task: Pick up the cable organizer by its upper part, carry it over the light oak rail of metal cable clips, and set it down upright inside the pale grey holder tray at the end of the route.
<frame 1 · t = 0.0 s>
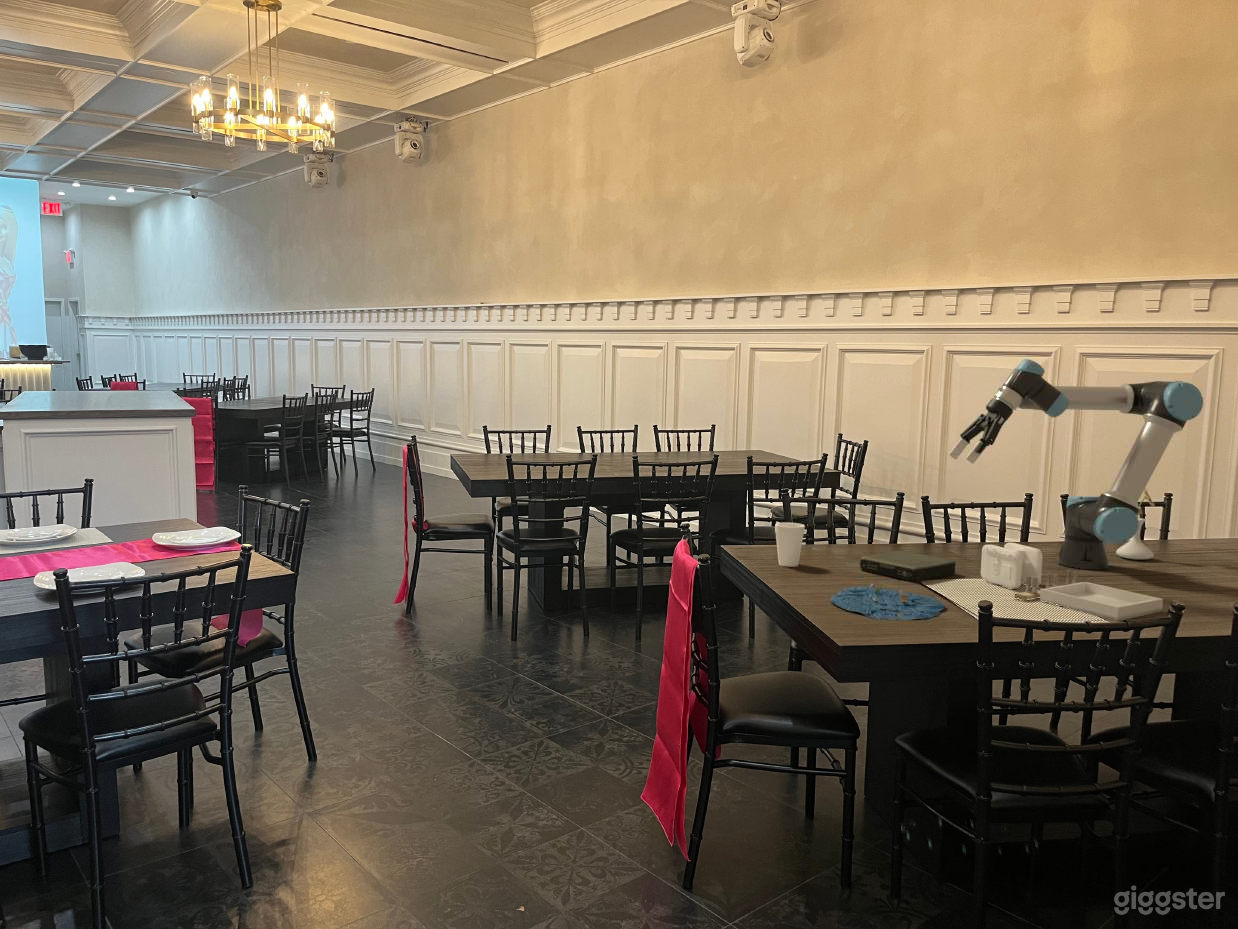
hand: (960, 459, 283), 36 cm above the table, tool tilted 35°, fingers open, 13 cm apart
cable clip rail: (1051, 594, 259), on the table
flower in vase: (1135, 558, 313), on the table
cable organizer: (1010, 585, 270), on the table
foam cup: (788, 565, 295), on the table
blue wave plaque: (888, 607, 244), on the table
holder tray: (1099, 606, 246), on the table
network switch: (907, 574, 285), on the table
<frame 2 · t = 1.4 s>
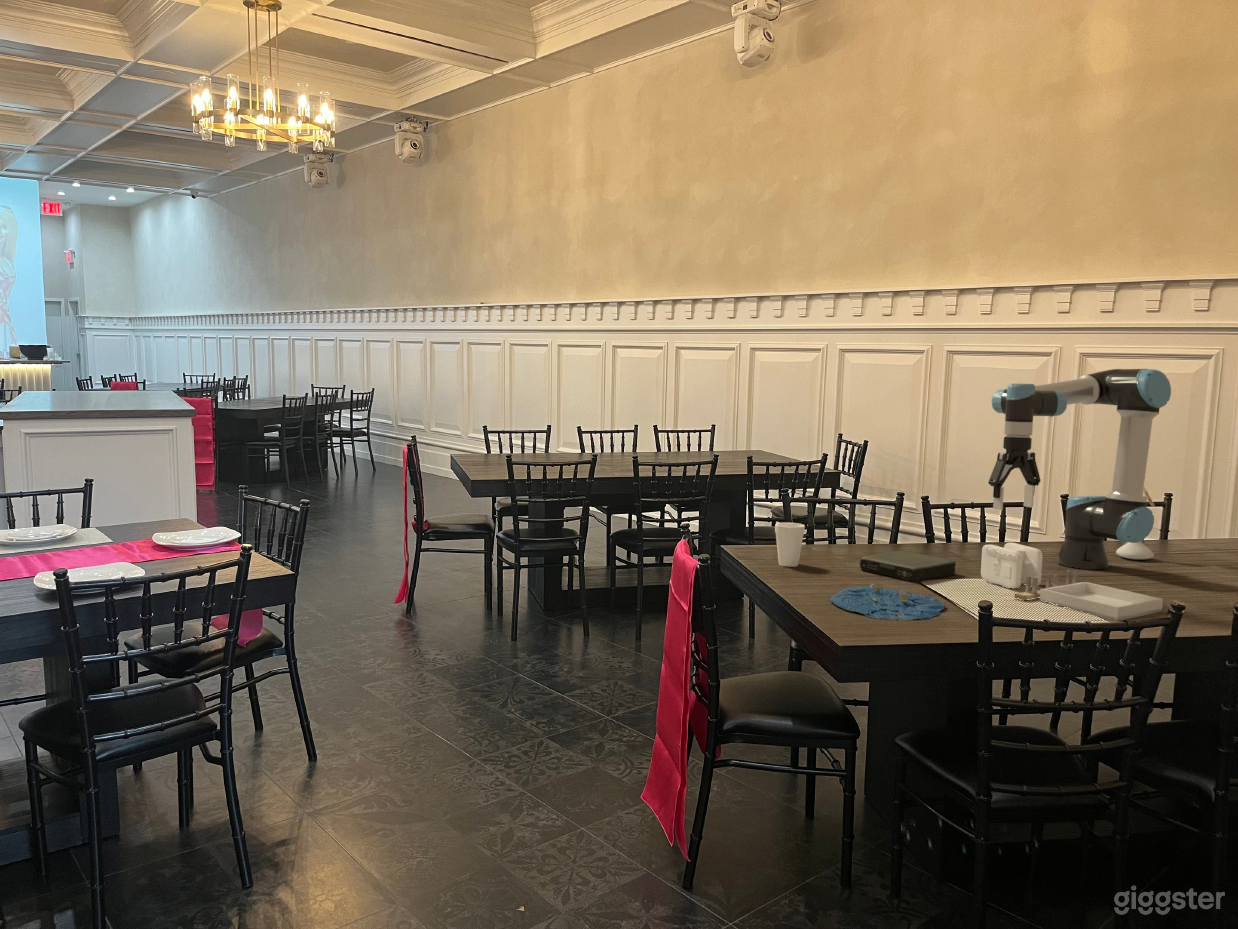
hand: (1013, 508, 268), 23 cm above the table, tool pointing down, fingers open, 13 cm apart
nothing on the table moved.
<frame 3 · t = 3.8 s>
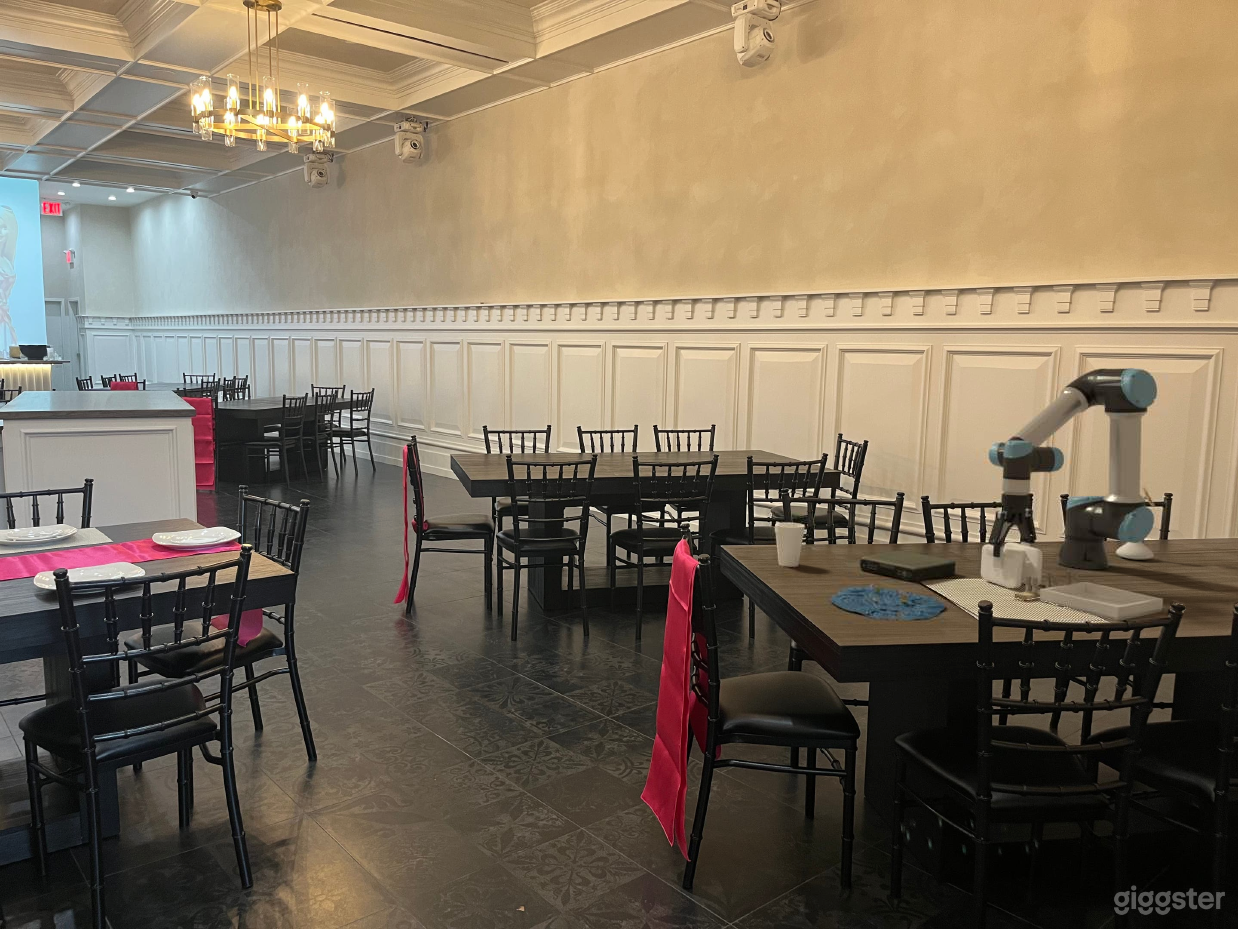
hand: (1011, 566, 270), 6 cm above the table, tool pointing down, fingers closed on cable organizer, 11 cm apart
cable organizer: (1010, 585, 270), on the table, touching gripper
everything else where it was.
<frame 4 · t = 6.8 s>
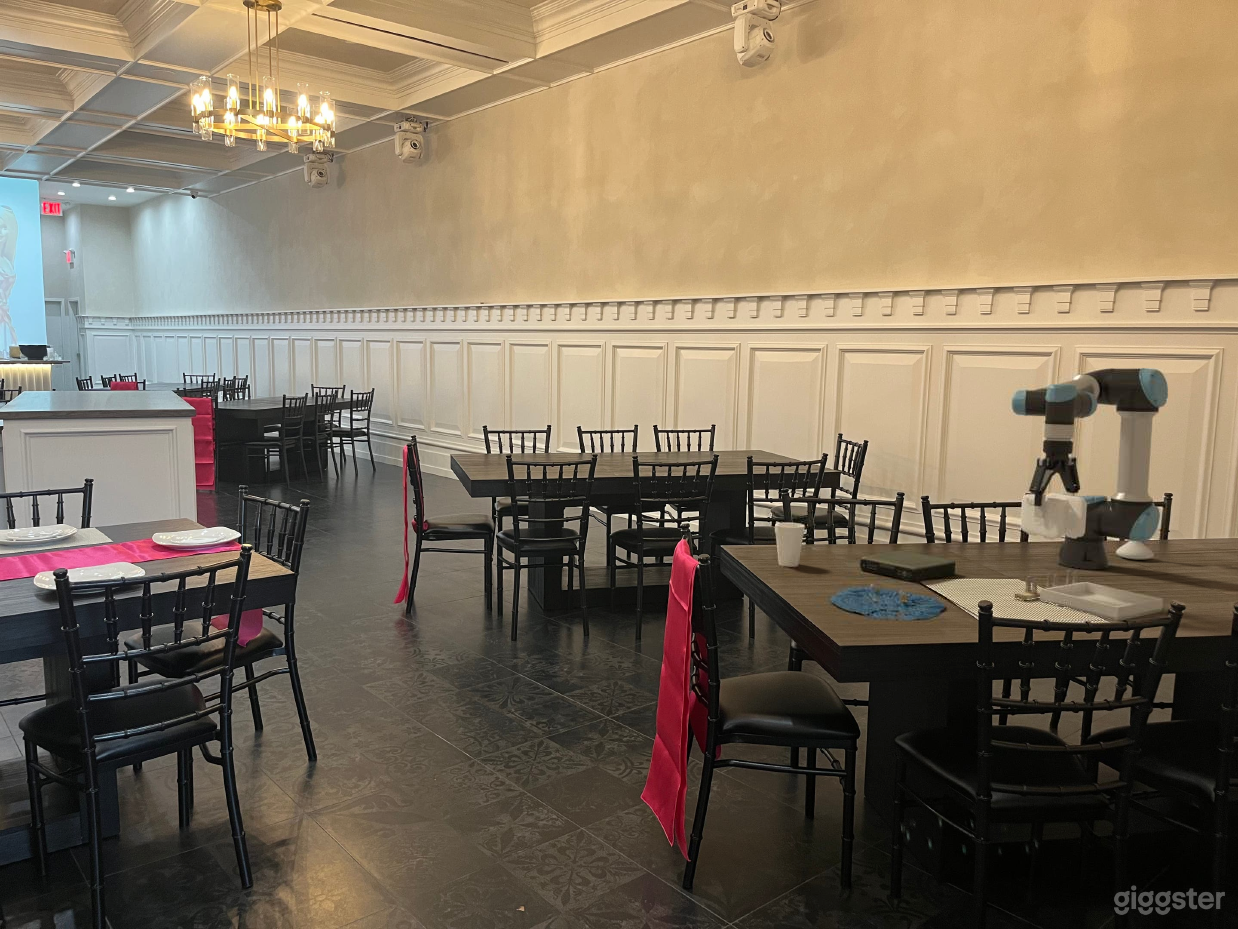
hand: (1053, 516, 257), 22 cm above the table, tool pointing down, fingers closed on cable organizer, 11 cm apart
cable organizer: (1051, 537, 257), point 17 cm above the table, touching gripper
everything else where it was.
when the fingers open (8 cm above the table, at t = 11.5 s): cable organizer drops 1 cm, resting on holder tray.
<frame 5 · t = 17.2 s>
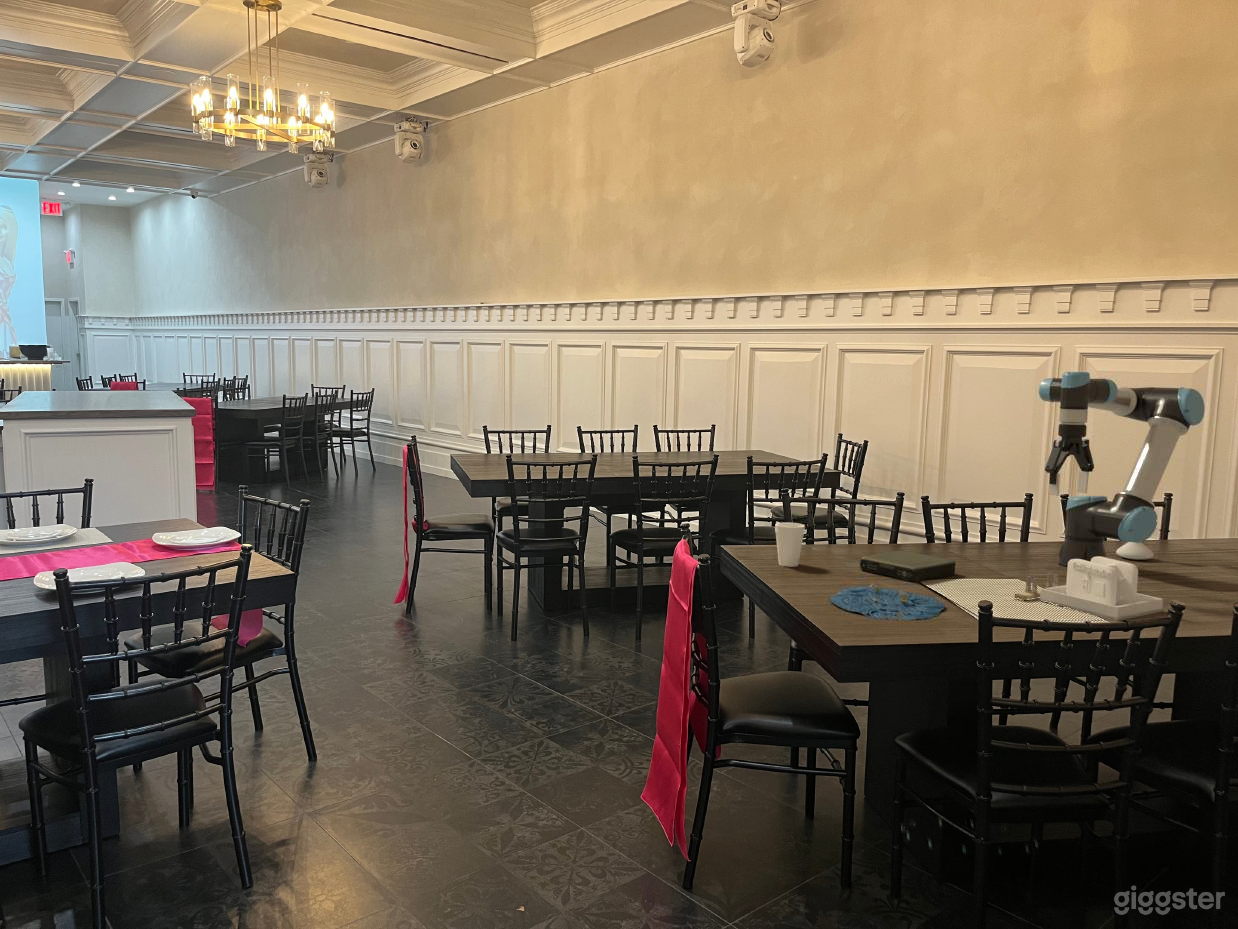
hand: (1068, 494, 274), 27 cm above the table, tool pointing down, fingers open, 13 cm apart
cable organizer: (1100, 604, 246), point 1 cm above the table, touching holder tray
everything else where it was.
at the end: cable organizer inside the target area on the holder tray (0.2 cm from its centre), point 0.6 cm above the holder tray's base; cable organizer tilted 0°; the gripper is holding nothing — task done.
